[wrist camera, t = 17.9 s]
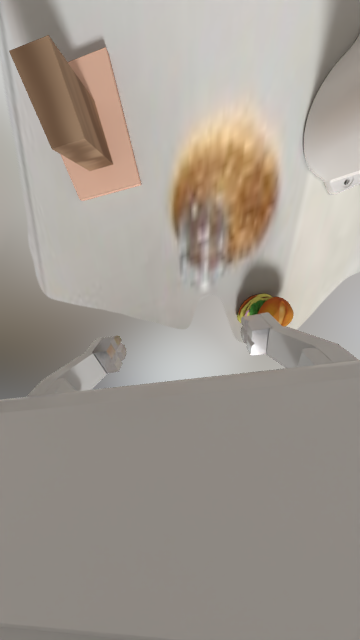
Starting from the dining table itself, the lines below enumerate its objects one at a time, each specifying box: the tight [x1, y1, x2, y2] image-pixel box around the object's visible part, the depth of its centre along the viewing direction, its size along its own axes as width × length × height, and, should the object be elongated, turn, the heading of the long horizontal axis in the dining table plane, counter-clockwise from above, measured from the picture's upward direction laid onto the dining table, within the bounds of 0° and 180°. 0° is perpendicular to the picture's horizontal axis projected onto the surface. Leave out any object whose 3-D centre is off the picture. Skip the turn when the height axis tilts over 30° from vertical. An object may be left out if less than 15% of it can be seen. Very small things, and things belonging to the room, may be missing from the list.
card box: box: [9, 35, 113, 171], centre depth 21 cm, size 4×7×9 cm, turn 11°
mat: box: [61, 47, 141, 201], centre depth 25 cm, size 12×14×1 cm
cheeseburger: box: [237, 294, 293, 327], centre depth 38 cm, size 10×11×10 cm
